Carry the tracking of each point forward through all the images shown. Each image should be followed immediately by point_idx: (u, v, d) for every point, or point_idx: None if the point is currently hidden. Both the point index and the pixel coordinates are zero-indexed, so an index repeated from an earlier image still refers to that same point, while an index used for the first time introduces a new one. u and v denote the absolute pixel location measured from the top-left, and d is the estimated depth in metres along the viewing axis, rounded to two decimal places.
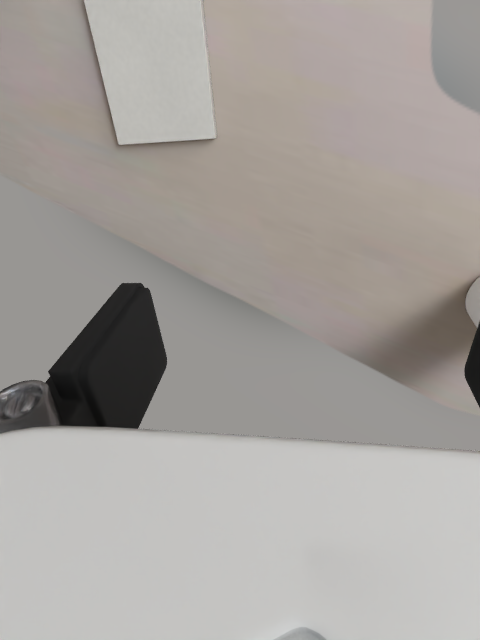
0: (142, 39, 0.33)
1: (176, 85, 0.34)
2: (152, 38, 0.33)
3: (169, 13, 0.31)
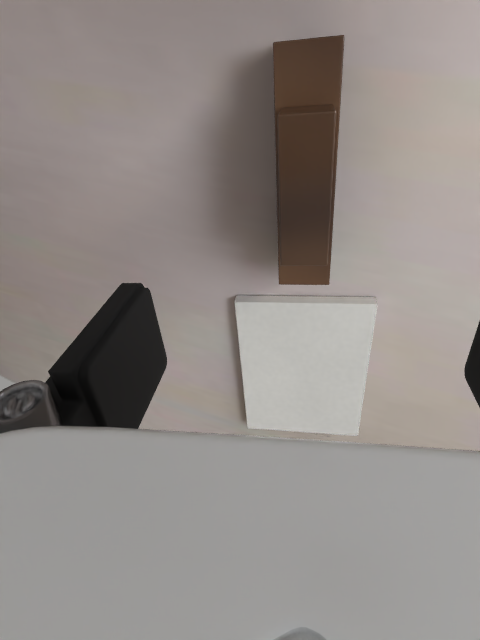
0: (295, 364, 0.30)
1: (325, 398, 0.32)
2: (308, 365, 0.30)
3: (332, 351, 0.29)
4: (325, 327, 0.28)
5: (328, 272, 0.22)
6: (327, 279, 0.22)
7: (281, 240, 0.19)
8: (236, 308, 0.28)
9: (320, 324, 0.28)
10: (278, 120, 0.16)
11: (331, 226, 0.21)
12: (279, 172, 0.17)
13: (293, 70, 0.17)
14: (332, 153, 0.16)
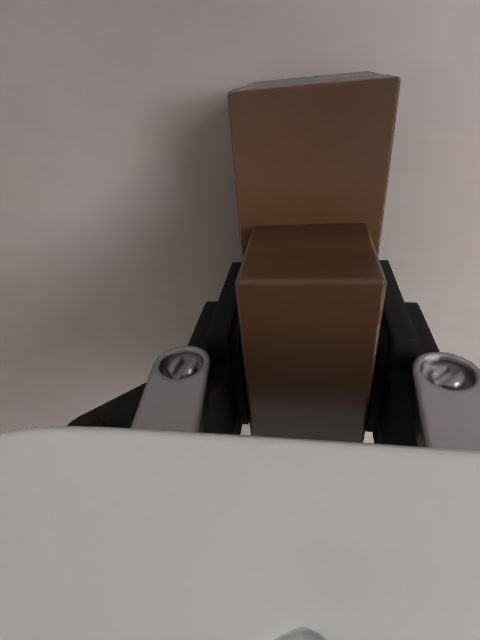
0: None
1: None
2: None
3: None
4: None
5: None
6: None
7: None
8: None
9: None
10: (238, 291, 0.06)
11: None
12: (247, 383, 0.07)
13: (277, 153, 0.07)
14: (372, 360, 0.07)
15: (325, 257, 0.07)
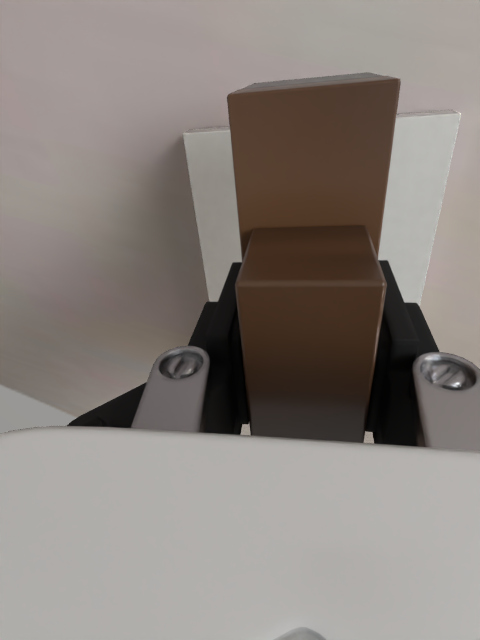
0: None
1: None
2: None
3: None
4: None
5: None
6: None
7: None
8: (187, 149, 0.15)
9: None
10: (238, 293, 0.06)
11: None
12: (247, 385, 0.07)
13: (276, 155, 0.07)
14: (372, 363, 0.07)
15: (325, 259, 0.07)
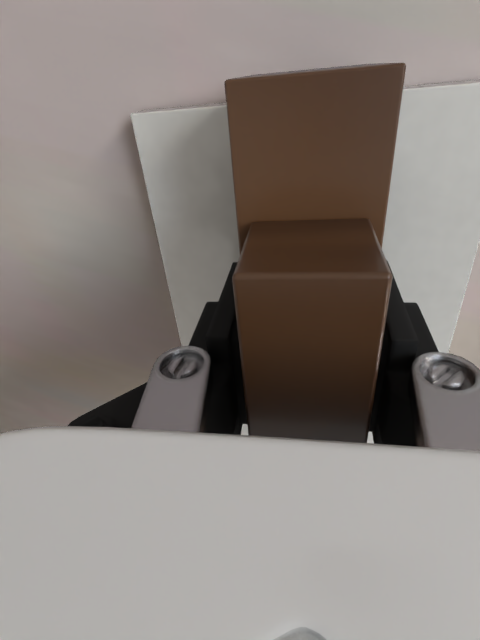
0: None
1: None
2: None
3: None
4: None
5: None
6: None
7: None
8: (137, 135, 0.11)
9: None
10: (235, 287, 0.06)
11: None
12: (245, 384, 0.07)
13: (276, 144, 0.07)
14: (376, 360, 0.06)
15: (327, 251, 0.06)
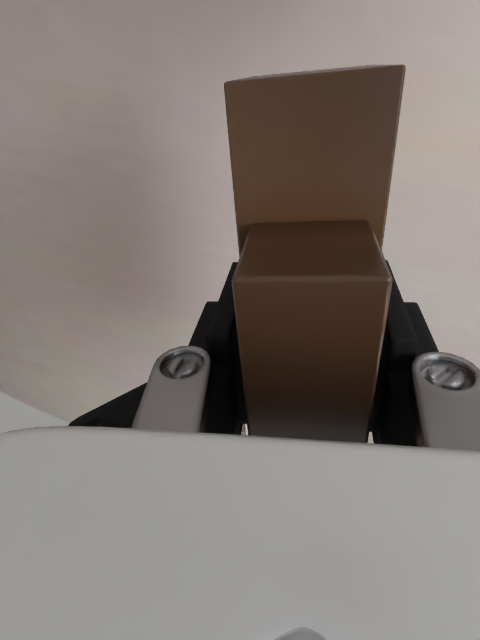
0: None
1: None
2: None
3: None
4: None
5: None
6: None
7: None
8: None
9: None
10: (234, 289, 0.06)
11: None
12: (245, 387, 0.07)
13: (275, 146, 0.07)
14: (376, 363, 0.06)
15: (326, 254, 0.06)
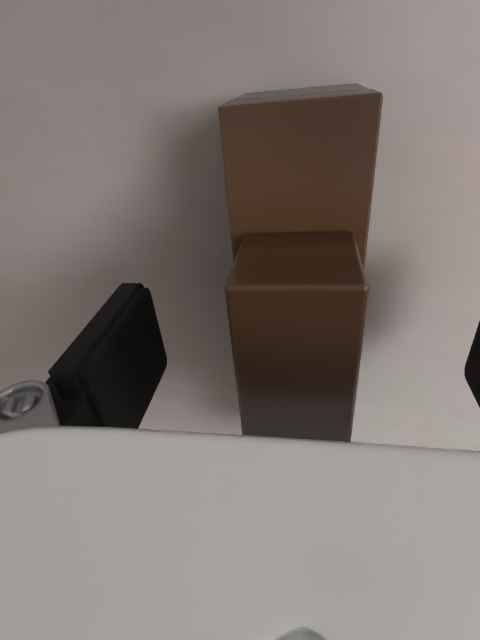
0: None
1: None
2: None
3: None
4: None
5: None
6: None
7: None
8: None
9: None
10: (227, 297, 0.07)
11: None
12: (238, 385, 0.08)
13: (266, 164, 0.08)
14: (357, 363, 0.07)
15: (311, 264, 0.07)
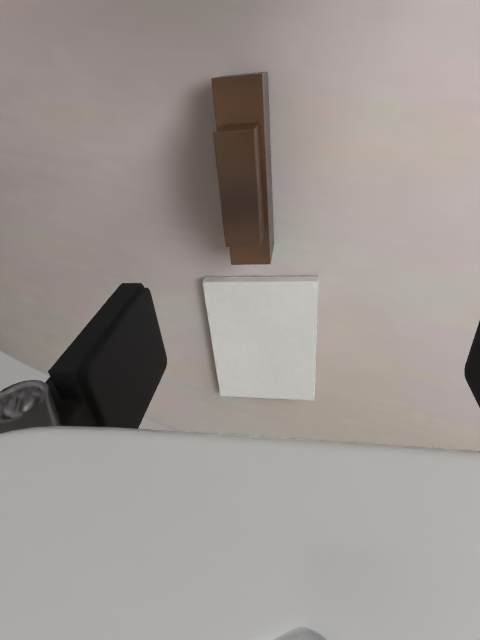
0: (256, 336, 0.36)
1: (284, 365, 0.37)
2: (266, 336, 0.35)
3: (286, 324, 0.34)
4: (278, 302, 0.33)
5: (268, 254, 0.28)
6: (268, 259, 0.28)
7: (224, 226, 0.24)
8: (204, 287, 0.33)
9: (273, 300, 0.33)
10: (214, 136, 0.21)
11: (267, 216, 0.26)
12: (218, 174, 0.23)
13: (227, 98, 0.23)
14: (255, 159, 0.22)
15: (240, 127, 0.22)
